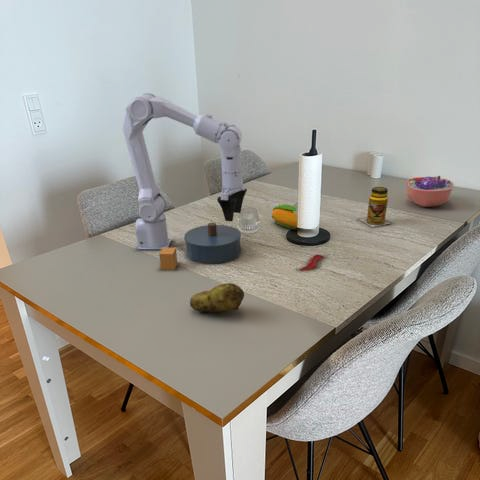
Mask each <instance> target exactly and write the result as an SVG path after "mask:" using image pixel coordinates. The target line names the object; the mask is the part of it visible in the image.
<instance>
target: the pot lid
mask: <svg viewBox="0 0 480 480" xmlns="http://www.w3.org/2000/svg"><path fill="white" fill-rule="evenodd" d="M241 236H242V234H241V231H240V230H239V229H237V228H236V227H233V226H231V225H224V224H217V223H216V222H208V223H207V225H201V226H196V227H194V228H191V229H189V230H188V231H186V232H185V233H184V241H185V243H186V242H187V243H189V244H191V245H194V246H199V247H221V246H226V245H229V244H232V243H235V242H236V241H238V240H239V239H240V240H241Z"/></svg>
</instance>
